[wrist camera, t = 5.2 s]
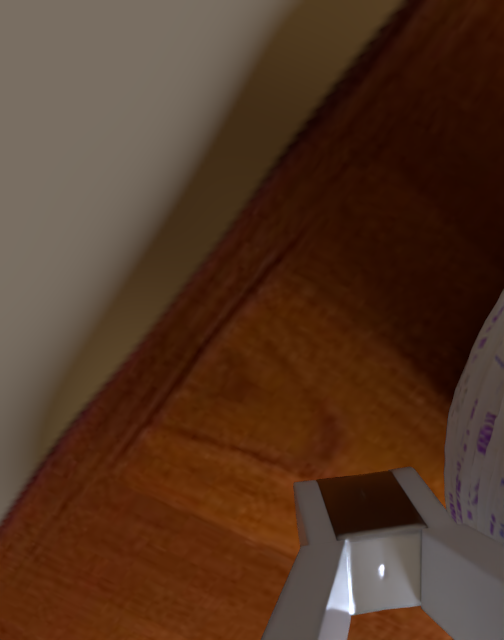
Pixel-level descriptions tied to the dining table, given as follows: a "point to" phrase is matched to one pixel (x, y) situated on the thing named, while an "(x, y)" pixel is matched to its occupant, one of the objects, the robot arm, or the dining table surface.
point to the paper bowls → (479, 434)
